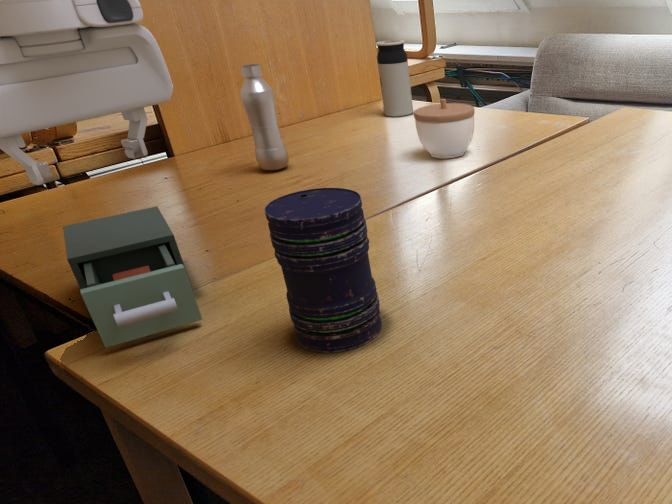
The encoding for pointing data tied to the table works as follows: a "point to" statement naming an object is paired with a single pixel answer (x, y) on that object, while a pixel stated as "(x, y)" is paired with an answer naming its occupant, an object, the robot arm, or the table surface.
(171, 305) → the drawer
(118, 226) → the cabinet
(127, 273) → the block
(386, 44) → the travel mug
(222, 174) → the table surface
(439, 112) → the lidded bowl
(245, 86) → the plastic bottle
